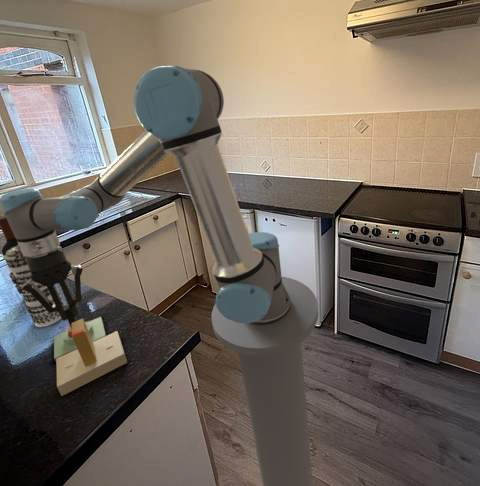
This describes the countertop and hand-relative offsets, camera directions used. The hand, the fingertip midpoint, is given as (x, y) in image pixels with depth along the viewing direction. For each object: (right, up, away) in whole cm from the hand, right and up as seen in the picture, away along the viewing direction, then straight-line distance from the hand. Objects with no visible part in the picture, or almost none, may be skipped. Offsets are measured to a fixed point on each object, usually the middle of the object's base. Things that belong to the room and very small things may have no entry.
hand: (74, 326), depth 82 cm
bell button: (0, -2, +1) cm, 2 cm away
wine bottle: (-30, +1, +25) cm, 39 cm away
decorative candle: (-16, -2, +12) cm, 20 cm away
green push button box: (+1, -4, +2) cm, 5 cm away
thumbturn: (+9, -4, -8) cm, 13 cm away
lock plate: (+10, -7, -7) cm, 14 cm away
